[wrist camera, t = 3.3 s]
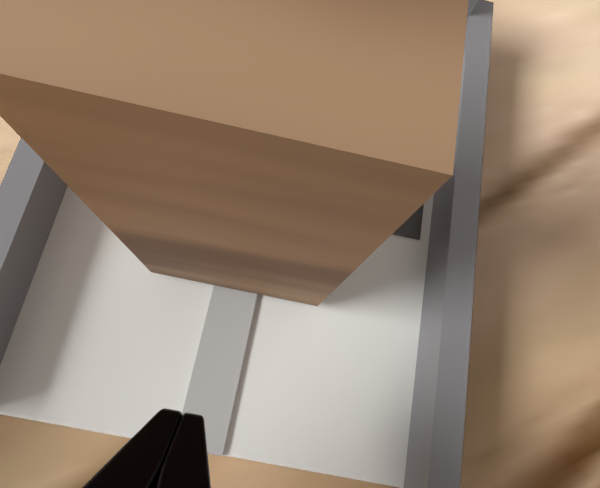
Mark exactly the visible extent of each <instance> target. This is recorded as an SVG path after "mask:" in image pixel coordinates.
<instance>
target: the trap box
mask: <svg viewBox="0 0 600 488" xmlns="http://www.w3.org/2000/svg"><path fill="white" fill-rule="evenodd" d="M492 16H493V2H489V1H485V0H469V2H468V13H467V24H466V35H465V46H464V57H463V68H462V79H461V90H460V102H459V113H458V124H457V135H456V146H455V157H454V168H453V176H452V177H451V178H450V179H449V180H448V181H447V182H445V183H444V184H443V185H442V186H441V187H440V188H439V189H438V190H437V191H436V192H435V193H434V194H433V195H432V196H431V197H430V198H429V199H428V200H427V201H426V202H425V203H424V204H423V205H422V206H421V207H420V208H419V209H418V210H417V211H415V212H414V213H413V214H412V215H411V216H410V217H409V218H408V219H407V220H406V221H405V222H404V223H403V224H402V225H401V226H400V227H399V228H398V229H397V230H396V231H395V232H394V233H393V234H392V235H391V236H390V237H389V238H388V239H387V240H386V241H384V242H383V243H382V244H381V245H380V246H379V247H378V248H377V249H376V250H375V251H374V252H373V253H372V254H371V255H370V256H369V257H368V258H367V259H366V260H365V261H364V262H363V263H362V264H361V265H360V266H359V267H358V268H357V269H356V270H355V271H353V272H352V273H351V274H350V275H349V276H348V277H347V278H346V279H345V280H344V281H343V282H342V283H341V284H340V285H339V286H338V287H337V288H336V289H335V290H334V291H333V292H332V293H331V294H330V295H329V296H328V297H327V298H326V299H325V300H324V301H322V302H321V303H320V304H319V305H318V306H314V305H309V304H304V303H299V302H294V301H289V300H284V299H280V298H275V297H270V296H265V295H260V294H255V293H250V292H245V291H240V290H236V289H231V288H226V287H221V286H216V285H211V284H206V283H201V282H196V281H192V280H187V279H182V278H177V277H172V276H167V275H162V274H157V273H152V272H150V271H149V270H148V269H147V267H146V266H145V265H144V264H143V263H142V262H141V261H140V260H139V259H138V258H137V257H136V256H135V255H134V254H133V253H132V252H131V251H130V250H129V249H128V248H127V247H126V246H125V245H124V244H123V243H122V242H121V240H120V239H119V238H118V237H117V236H116V235H115V234H114V233H113V232H112V231H111V230H110V229H109V228H108V227H107V226H106V225H105V224H104V223H103V222H102V221H101V220H100V219H99V218H98V217H97V216H96V215H95V213H94V212H93V211H92V210H91V209H90V208H89V207H88V206H87V205H86V204H85V203H84V202H83V201H82V200H81V199H80V198H79V197H78V196H77V195H76V194H75V193H74V192H73V191H72V190H71V189H70V188H69V187H68V185H67V184H66V183H65V182H64V181H63V180H62V179H61V178H60V177H59V176H58V175H57V174H56V173H55V172H54V171H53V170H52V169H51V168H50V167H49V166H48V165H47V164H46V163H45V162H44V161H43V160H42V158H41V157H40V156H39V155H38V154H37V153H36V152H35V151H34V150H33V149H32V148H31V147H30V146H29V145H28V144H27V143H26V142H25V141H24V140H23V139H22V138H21V139H20V141H19V143H18V146H17V148H16V151H15V153H14V155H13V158H12V160H11V162H10V165H9V167H8V169H7V172H6V174H5V176H4V179H3V181H2V183H1V186H0V414H2V415H7V416H12V417H18V418H23V419H29V420H34V421H40V422H45V423H50V424H56V425H61V426H67V427H72V428H78V429H83V430H89V431H94V432H99V433H105V434H110V435H116V436H121V437H127V438H132V437H133V436H134V435H135V434H136V433H137V432H138V431H139V430H140V429H141V428H142V427H143V426H144V425H145V424H146V423H147V422H148V421H149V420H150V419H151V418H152V417H153V416H154V415H155V414H156V413H157V412H158V411H160V410H161V409H163V408H166V409H172V410H177V411H180V412H182V415H183V414H184V413H193V414H198V415H202V416H203V417H204V422H205V433H206V444H207V454H213V455H218V456H222V455H225V456H230V457H235V458H241V459H246V460H252V461H257V462H263V463H268V464H274V465H279V466H284V467H290V468H295V469H301V470H306V471H312V472H317V473H322V474H328V475H333V476H339V477H344V478H350V479H355V480H361V481H366V482H371V483H377V484H382V485H388V486H393V487H399V488H460V482H461V467H462V453H463V438H464V424H465V409H466V395H467V380H468V365H469V351H470V336H471V322H472V307H473V293H474V278H475V263H476V249H477V234H478V220H479V205H480V191H481V176H482V161H483V147H484V132H485V118H486V103H487V88H488V74H489V59H490V45H491V30H492Z"/></svg>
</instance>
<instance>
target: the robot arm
mask: <svg viewBox="0 0 600 488" xmlns="http://www.w3.org/2000/svg"><path fill="white" fill-rule="evenodd" d="M83 488H211V486H210V475H209V465H208V454H207V444H206V433H205V422H204V417H203V416H202V415H198V414H193V413H184V414H183V415H182V412H180V411H177V410H172V409H166V408H163V409H161V410H160V411H158V412H157V413H156V414H155V415H154V416H153V417H152V418H151V419H150V420H149V421H148V422H147V423H146V424H145V425H144V426H143V427H142V428H141V429H140V430H139V431H138V432H137V433H136V434H135V435H134V436H133V437H132V438H131V439H130V440H129V441H128V442H127V443H126V444H125V445H124V446H123V447H122V448H121V449H120V450H119V451H118V452H117V453H116V454H115V455H114V456H113V457H112V458H111V459H110V460H109V461H108V462H107V463H106V464H105V465H104V466H103V467H102V468H101V469H100V470H99V471H98V472H97V473H96V474H95V475H94V476H93V477H92V478H91V480H90V481H89V482H88V483H87V484H86V485H85V486H84V487H83Z"/></svg>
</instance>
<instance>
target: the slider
mask: <svg viewBox="0 0 600 488" xmlns="http://www.w3.org/2000/svg"><path fill="white" fill-rule="evenodd" d="M468 2H469V0H0V116H1V117H2V118H3V119H4V120H5V121H6V122H7V123H8V124H9V125H10V126H11V127H12V128H13V129H14V130H15V131H16V133H17V134H18V135H19V136H20V137H21V138H22V139H23V140H24V141H25V142H26V143H27V144H28V145H29V146H30V147H31V148H32V149H33V150H34V151H35V152H36V153H37V154H38V155H39V156H40V157H41V158H42V160H43V161H44V162H45V163H46V164H47V165H48V166H49V167H50V168H51V169H52V170H53V171H54V172H55V173H56V174H57V175H58V176H59V177H60V178H61V179H62V180H63V181H64V182H65V183H66V184H67V185H68V187H69V188H70V189H71V190H72V191H73V192H74V193H75V194H76V195H77V196H78V197H79V198H80V199H81V200H82V201H83V202H84V203H85V204H86V205H87V206H88V207H89V208H90V209H91V210H92V211H93V212H94V213H95V215H96V216H97V217H98V218H99V219H100V220H101V221H102V222H103V223H104V224H105V225H106V226H107V227H108V228H109V229H110V230H111V231H112V232H113V233H114V234H115V235H116V236H117V237H118V238H119V239H120V240H121V242H122V243H123V244H124V245H125V246H126V247H127V248H128V249H129V250H130V251H131V252H132V253H133V254H134V255H135V256H136V257H137V258H138V259H139V260H140V261H141V262H142V263H143V264H144V265H145V266H146V267H147V269H148V270H149V271H150V272H152V273H157V274H162V275H167V276H172V277H177V278H182V279H187V280H192V281H196V282H201V283H206V284H211V285H216V286H221V287H226V288H231V289H236V290H240V291H245V292H250V293H255V294H260V295H265V296H270V297H275V298H280V299H284V300H289V301H294V302H299V303H304V304H309V305H314V306H318V305H319V304H320V303H321V302H322V301H324V300H325V299H326V298H327V297H328V296H329V295H330V294H331V293H332V292H333V291H334V290H335V289H336V288H337V287H338V286H339V285H340V284H341V283H342V282H343V281H344V280H345V279H346V278H347V277H348V276H349V275H350V274H351V273H352V272H353V271H355V270H356V269H357V268H358V267H359V266H360V265H361V264H362V263H363V262H364V261H365V260H366V259H367V258H368V257H369V256H370V255H371V254H372V253H373V252H374V251H375V250H376V249H377V248H378V247H379V246H380V245H381V244H382V243H383V242H384V241H386V240H387V239H388V238H389V237H390V236H391V235H392V234H393V233H394V232H395V231H396V230H397V229H398V228H399V227H400V226H401V225H402V224H403V223H404V222H405V221H406V220H407V219H408V218H409V217H410V216H411V215H412V214H413V213H414V212H415V211H417V210H418V209H419V208H420V207H421V206H422V205H423V204H424V203H425V202H426V201H427V200H428V199H429V198H430V197H431V196H432V195H433V194H434V193H435V192H436V191H437V190H438V189H439V188H440V187H441V186H442V185H443V184H444V183H445V182H447V181H448V180H449V179H450V178H451V177H452V176H453V168H454V157H455V146H456V135H457V124H458V113H459V102H460V90H461V79H462V68H463V57H464V46H465V35H466V24H467V13H468Z"/></svg>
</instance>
